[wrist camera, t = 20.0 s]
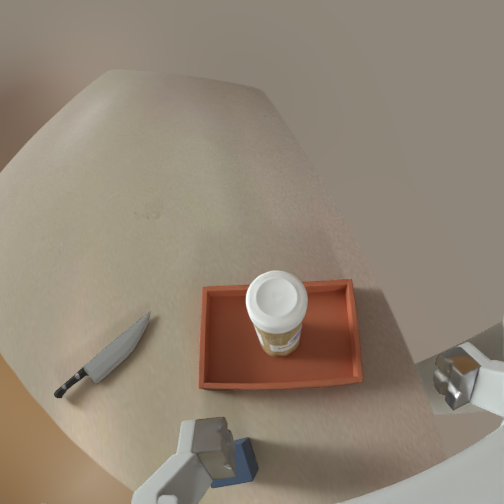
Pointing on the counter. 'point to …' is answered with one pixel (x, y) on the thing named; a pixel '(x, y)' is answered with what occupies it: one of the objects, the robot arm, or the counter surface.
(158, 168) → the counter surface
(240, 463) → the blue block
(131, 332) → the chef's knife
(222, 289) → the tray
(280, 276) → the sprinkles bottle
